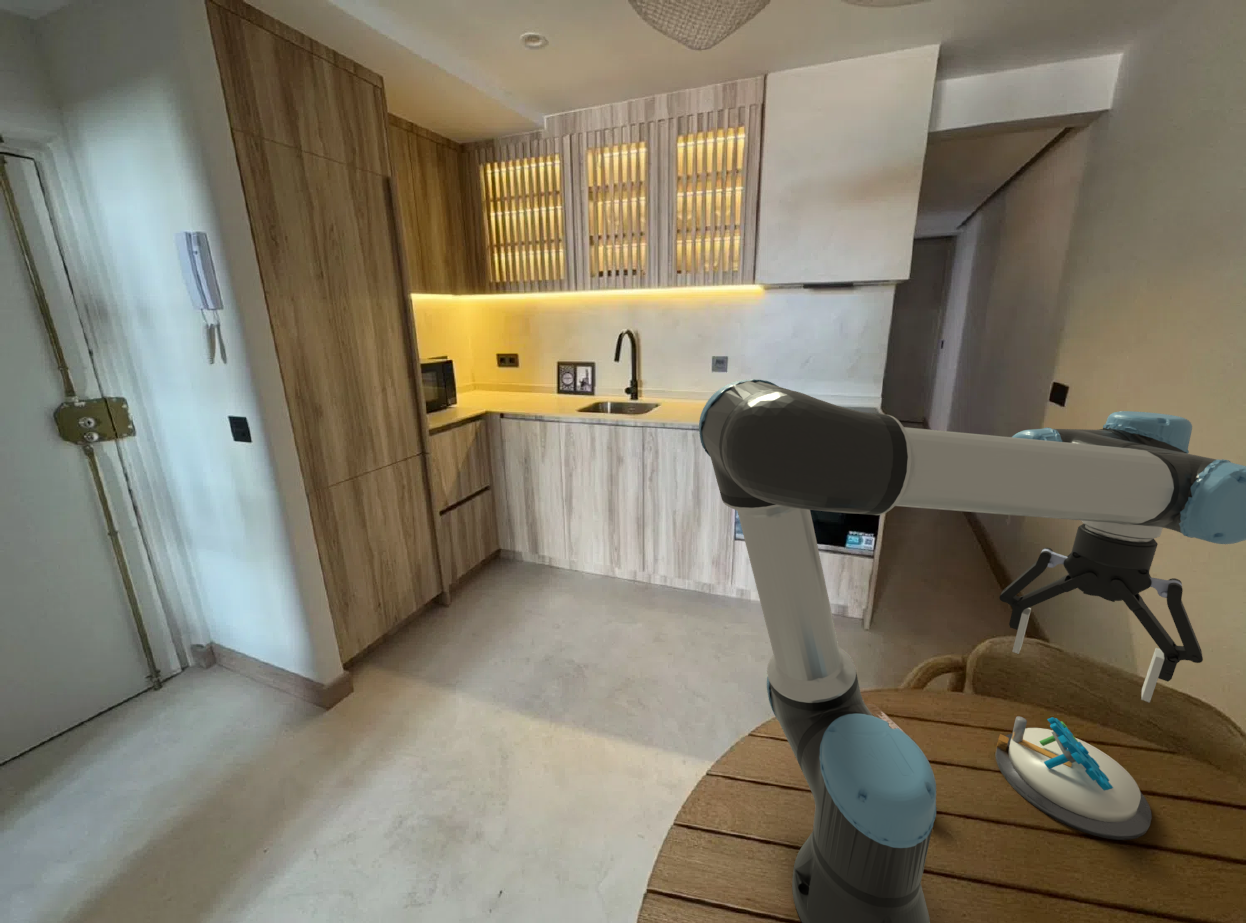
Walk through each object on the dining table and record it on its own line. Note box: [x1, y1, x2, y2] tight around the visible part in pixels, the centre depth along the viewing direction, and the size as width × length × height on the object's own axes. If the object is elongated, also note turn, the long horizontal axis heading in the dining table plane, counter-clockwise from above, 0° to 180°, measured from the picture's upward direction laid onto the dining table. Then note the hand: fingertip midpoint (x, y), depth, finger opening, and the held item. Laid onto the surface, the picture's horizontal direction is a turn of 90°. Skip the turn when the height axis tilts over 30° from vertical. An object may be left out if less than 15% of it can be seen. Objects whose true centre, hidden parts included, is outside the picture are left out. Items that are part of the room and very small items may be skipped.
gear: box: [1039, 716, 1113, 791], centre depth 75 cm, size 11×6×10 cm
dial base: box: [995, 733, 1153, 841], centre depth 77 cm, size 18×18×2 cm
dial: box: [1008, 715, 1142, 822], centre depth 76 cm, size 15×15×6 cm
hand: (1076, 671), depth 70 cm, fingers open, 13 cm apart
